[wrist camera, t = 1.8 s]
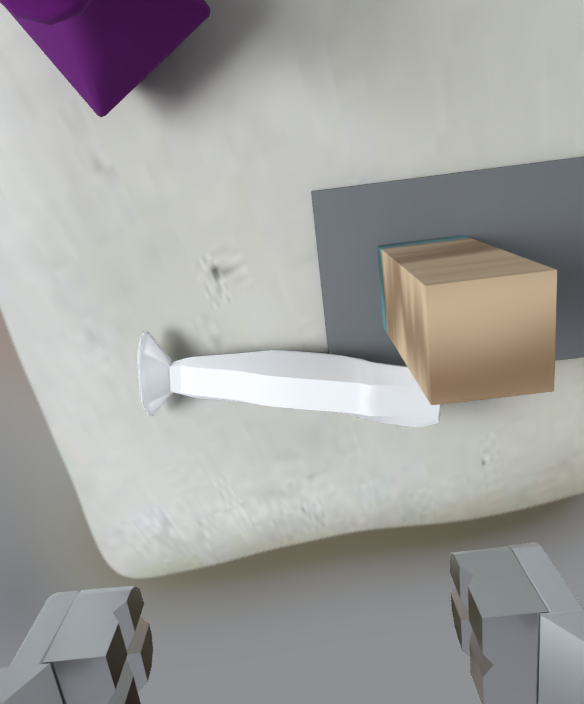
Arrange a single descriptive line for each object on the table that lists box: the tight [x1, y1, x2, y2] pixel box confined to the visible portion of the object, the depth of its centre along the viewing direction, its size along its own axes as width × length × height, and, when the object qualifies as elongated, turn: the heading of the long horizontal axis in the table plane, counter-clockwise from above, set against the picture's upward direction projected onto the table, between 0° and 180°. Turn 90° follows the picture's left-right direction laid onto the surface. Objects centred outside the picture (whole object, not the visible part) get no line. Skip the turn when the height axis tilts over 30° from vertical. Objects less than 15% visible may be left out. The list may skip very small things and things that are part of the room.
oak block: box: [377, 235, 557, 405], centre depth 28 cm, size 5×5×12 cm
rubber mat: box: [311, 157, 584, 366], centre depth 33 cm, size 12×22×1 cm, turn 97°
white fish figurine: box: [137, 332, 441, 427], centre depth 33 cm, size 6×18×4 cm, turn 89°
